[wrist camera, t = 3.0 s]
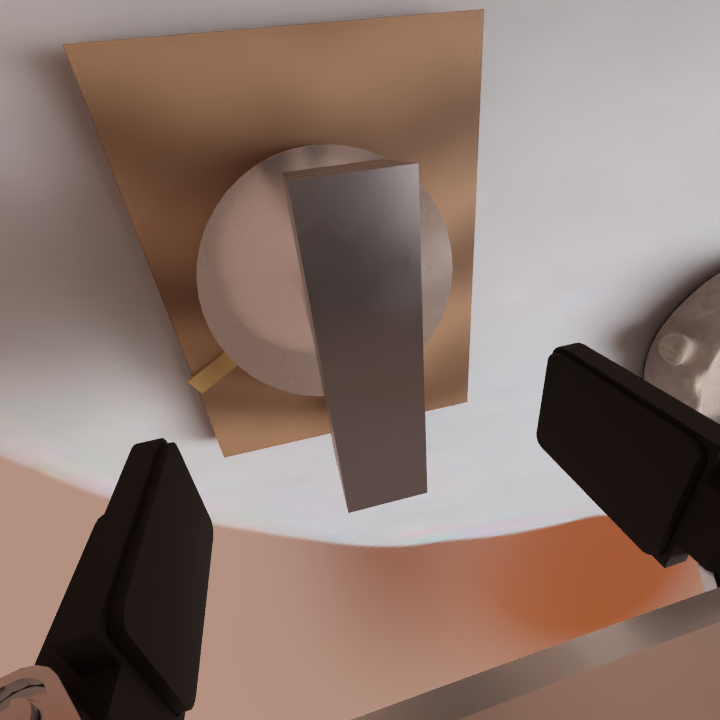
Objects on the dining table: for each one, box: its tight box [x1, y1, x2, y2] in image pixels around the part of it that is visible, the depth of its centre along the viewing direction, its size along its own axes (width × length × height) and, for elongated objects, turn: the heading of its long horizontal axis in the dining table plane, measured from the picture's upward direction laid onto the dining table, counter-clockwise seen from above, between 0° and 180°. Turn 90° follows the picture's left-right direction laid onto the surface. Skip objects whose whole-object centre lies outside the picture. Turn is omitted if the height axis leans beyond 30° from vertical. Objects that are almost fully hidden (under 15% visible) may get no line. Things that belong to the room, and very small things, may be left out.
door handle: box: [196, 144, 453, 513], centre depth 16 cm, size 14×12×10 cm
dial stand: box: [63, 9, 484, 457], centre depth 20 cm, size 20×16×2 cm
